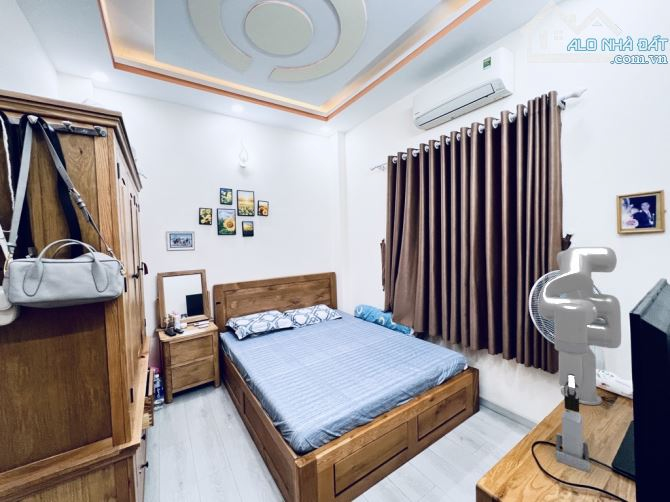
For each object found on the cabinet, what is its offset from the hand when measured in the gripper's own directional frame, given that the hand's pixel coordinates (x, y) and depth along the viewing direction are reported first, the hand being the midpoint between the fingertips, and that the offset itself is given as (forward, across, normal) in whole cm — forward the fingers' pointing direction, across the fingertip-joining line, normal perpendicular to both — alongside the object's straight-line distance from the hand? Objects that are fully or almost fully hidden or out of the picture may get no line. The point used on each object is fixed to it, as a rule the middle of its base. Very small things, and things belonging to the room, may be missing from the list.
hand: (571, 402), depth 85 cm
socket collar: (+16, +1, 0) cm, 16 cm away
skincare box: (+16, +1, 0) cm, 16 cm away
